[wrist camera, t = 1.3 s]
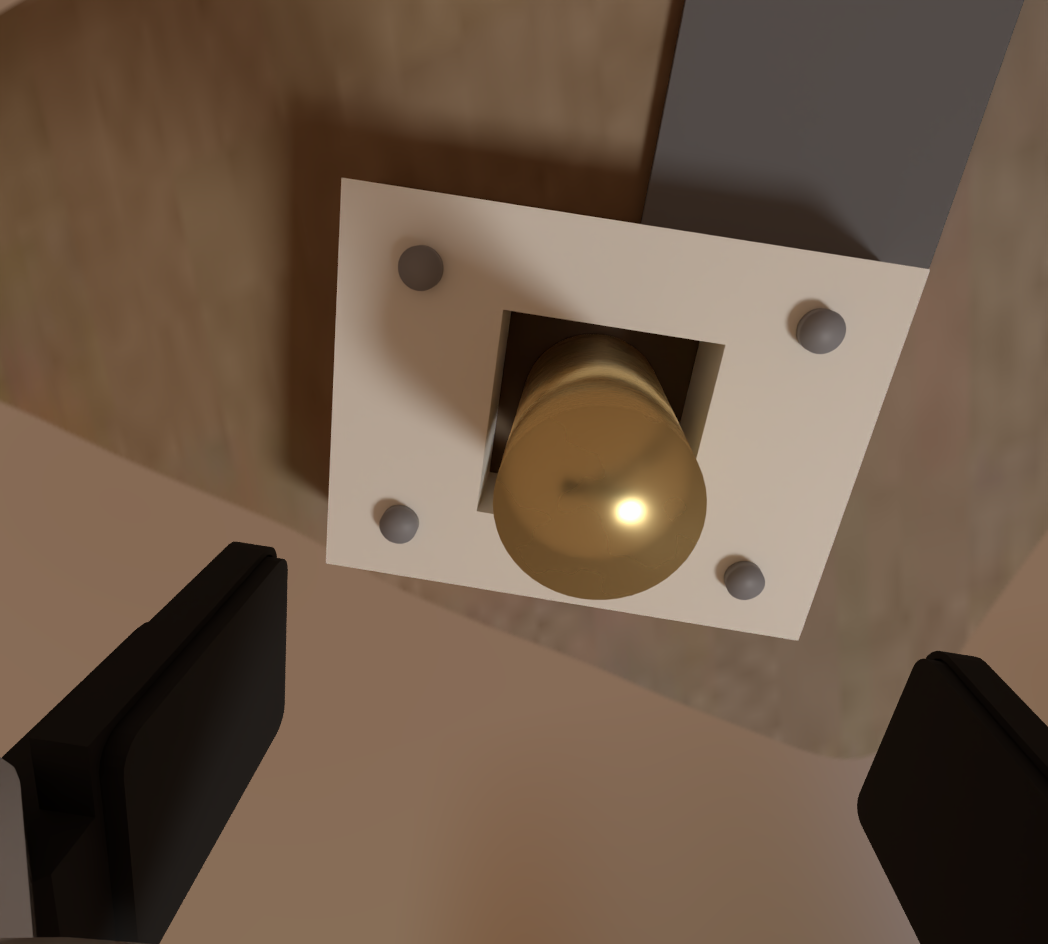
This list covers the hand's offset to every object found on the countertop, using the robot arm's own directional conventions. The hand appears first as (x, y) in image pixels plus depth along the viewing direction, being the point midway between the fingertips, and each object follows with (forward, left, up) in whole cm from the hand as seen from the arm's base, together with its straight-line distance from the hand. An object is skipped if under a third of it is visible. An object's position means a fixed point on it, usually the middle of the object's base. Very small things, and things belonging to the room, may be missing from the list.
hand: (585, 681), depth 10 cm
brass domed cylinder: (0, 0, -15) cm, 15 cm away
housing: (0, 0, -15) cm, 15 cm away
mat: (-5, -11, -15) cm, 19 cm away
